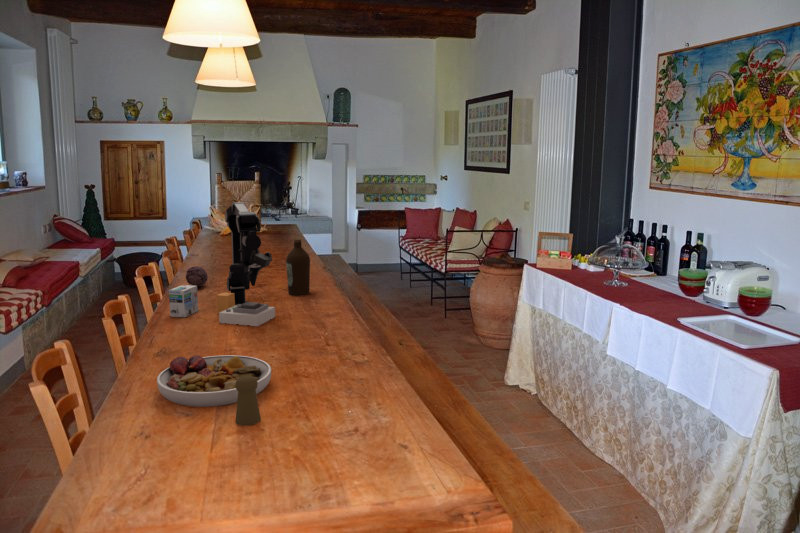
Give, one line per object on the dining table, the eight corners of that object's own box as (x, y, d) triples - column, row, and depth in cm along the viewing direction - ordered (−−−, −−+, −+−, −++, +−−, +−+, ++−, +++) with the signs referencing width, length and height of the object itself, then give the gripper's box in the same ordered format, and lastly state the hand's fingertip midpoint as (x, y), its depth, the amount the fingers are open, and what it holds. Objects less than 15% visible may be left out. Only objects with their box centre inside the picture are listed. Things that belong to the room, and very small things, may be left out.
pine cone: (209, 290, 298) (208, 268, 296) (187, 291, 295) (186, 270, 293) (206, 282, 314) (205, 262, 312) (185, 284, 311) (184, 263, 309)
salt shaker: (248, 413, 160) (247, 371, 158) (266, 419, 157) (264, 376, 155) (230, 421, 156) (227, 378, 154) (247, 427, 152) (245, 383, 150)
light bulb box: (185, 317, 250) (183, 290, 248) (169, 317, 251) (167, 290, 249) (199, 311, 260) (197, 285, 258) (183, 310, 261) (182, 284, 259)
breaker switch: (248, 309, 249) (248, 301, 248) (260, 310, 247) (259, 302, 247) (241, 312, 244) (241, 304, 244) (253, 313, 243) (253, 305, 242)
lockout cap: (224, 311, 259) (223, 292, 258) (235, 312, 258) (234, 293, 256) (217, 314, 254) (216, 295, 253) (228, 315, 253) (227, 295, 252)
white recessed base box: (238, 313, 256) (238, 300, 255) (275, 317, 251) (274, 303, 250) (219, 323, 242) (218, 308, 241) (257, 326, 238) (256, 312, 237)
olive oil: (307, 290, 298) (306, 236, 294) (313, 295, 289) (312, 239, 284) (284, 292, 294) (283, 238, 290) (290, 297, 284) (288, 241, 280)
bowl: (291, 377, 186) (290, 351, 184) (232, 418, 158) (230, 388, 157) (203, 366, 196) (201, 341, 194) (133, 402, 168) (130, 374, 166)
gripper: (254, 251, 230) (256, 293, 233) (279, 243, 248) (280, 283, 250) (227, 249, 233) (229, 291, 236) (253, 242, 251) (255, 281, 254)
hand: (249, 287), depth 244 cm, fingers open, 5 cm apart
